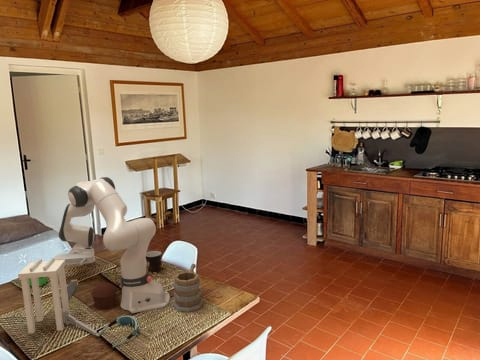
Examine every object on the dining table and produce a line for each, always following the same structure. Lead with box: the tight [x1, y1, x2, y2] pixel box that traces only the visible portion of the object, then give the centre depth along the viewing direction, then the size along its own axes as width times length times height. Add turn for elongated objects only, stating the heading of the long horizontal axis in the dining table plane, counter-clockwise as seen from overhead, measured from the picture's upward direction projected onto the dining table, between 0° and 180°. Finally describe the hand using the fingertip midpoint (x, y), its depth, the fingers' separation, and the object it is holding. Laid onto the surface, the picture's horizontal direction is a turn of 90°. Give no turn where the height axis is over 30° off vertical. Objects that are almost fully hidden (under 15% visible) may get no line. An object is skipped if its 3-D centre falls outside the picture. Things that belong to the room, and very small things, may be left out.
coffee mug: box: [146, 250, 162, 273], centre depth 208 cm, size 12×9×10 cm
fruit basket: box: [29, 276, 49, 287], centre depth 196 cm, size 11×9×11 cm
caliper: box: [62, 311, 99, 337], centre depth 154 cm, size 20×1×6 cm, turn 61°
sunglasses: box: [95, 315, 139, 349], centre depth 150 cm, size 14×15×5 cm
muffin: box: [90, 282, 118, 311], centre depth 173 cm, size 12×11×10 cm
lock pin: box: [60, 279, 79, 309], centre depth 183 cm, size 3×24×3 cm, turn 8°
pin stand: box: [18, 257, 71, 335], centre depth 156 cm, size 14×12×28 cm
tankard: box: [172, 263, 204, 313], centre depth 174 cm, size 20×13×15 cm, turn 168°
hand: (70, 264), depth 190 cm, fingers open, 8 cm apart
